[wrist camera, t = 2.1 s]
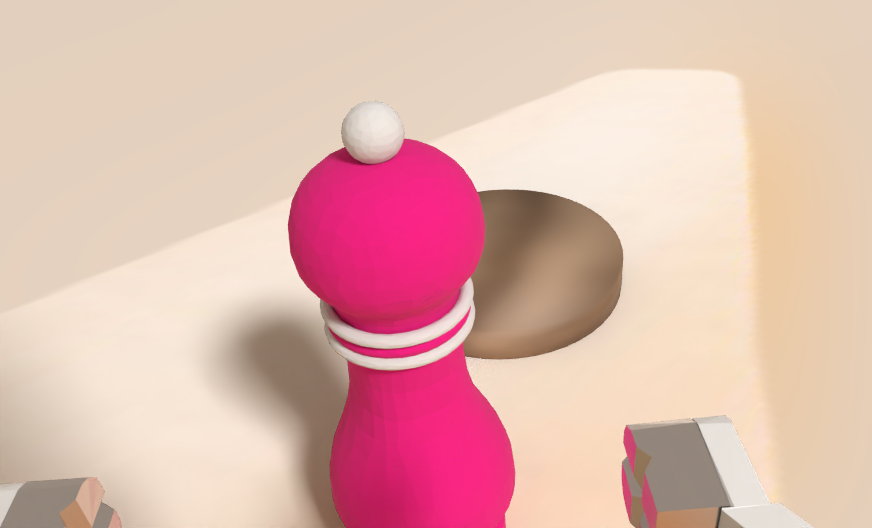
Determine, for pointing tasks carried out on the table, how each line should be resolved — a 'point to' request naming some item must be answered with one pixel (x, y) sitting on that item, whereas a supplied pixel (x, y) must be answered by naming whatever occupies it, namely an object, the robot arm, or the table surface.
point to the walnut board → (541, 275)
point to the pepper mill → (401, 329)
